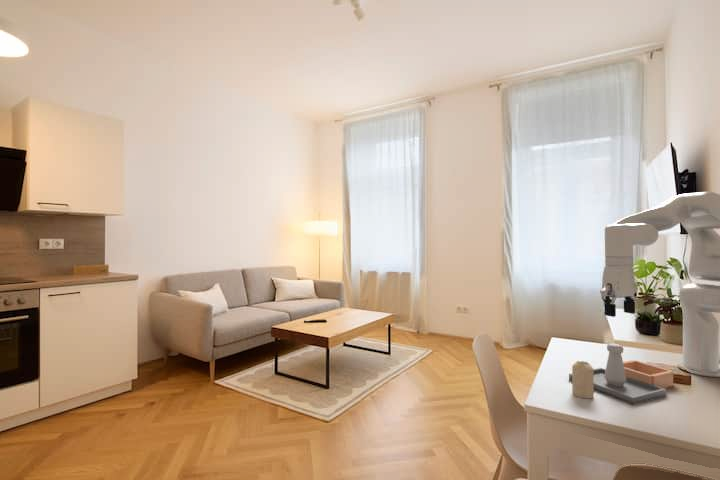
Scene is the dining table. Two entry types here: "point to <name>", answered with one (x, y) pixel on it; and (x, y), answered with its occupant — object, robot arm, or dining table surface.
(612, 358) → the salt shaker
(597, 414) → the dining table surface
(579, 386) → the candle
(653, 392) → the tray
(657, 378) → the open container
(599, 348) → the dining table surface
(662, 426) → the dining table surface
